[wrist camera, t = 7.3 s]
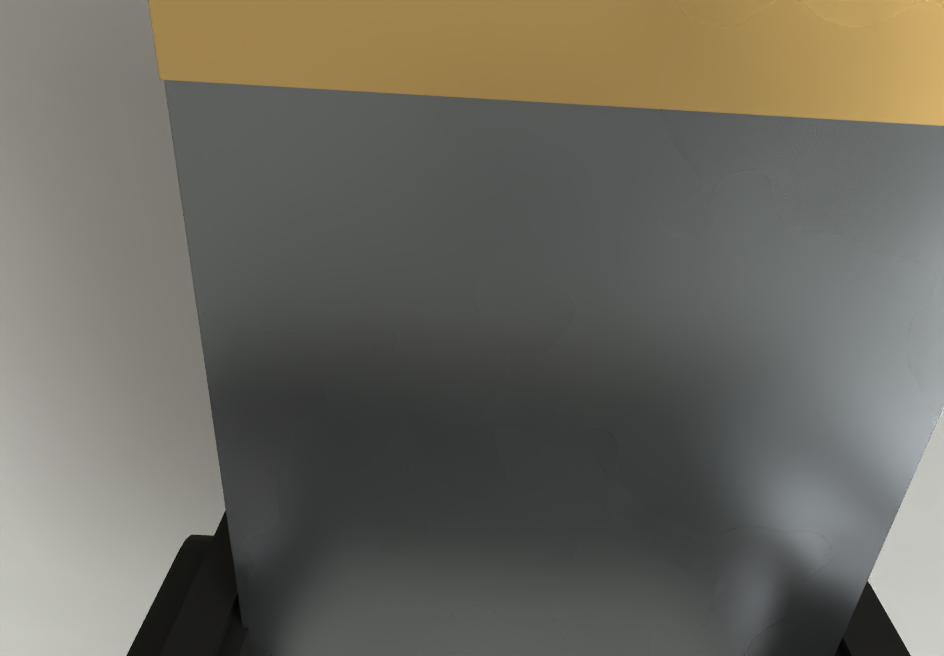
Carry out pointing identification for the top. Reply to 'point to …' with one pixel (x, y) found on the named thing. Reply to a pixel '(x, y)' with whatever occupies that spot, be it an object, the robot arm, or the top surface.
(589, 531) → the slab
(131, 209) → the top surface
